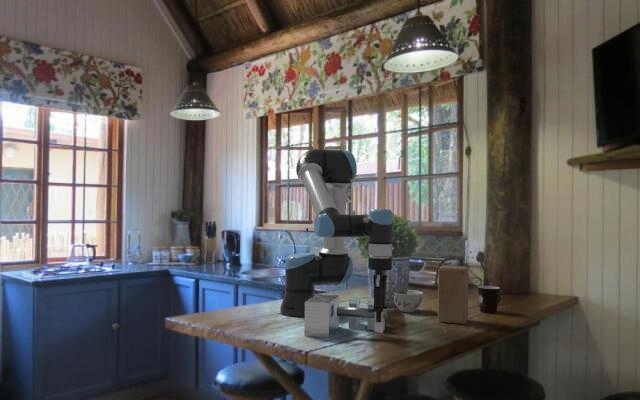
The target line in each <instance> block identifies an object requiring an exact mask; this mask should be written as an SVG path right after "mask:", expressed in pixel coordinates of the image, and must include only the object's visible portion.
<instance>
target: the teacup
mask: <svg viewBox="0 0 640 400" xmlns="http://www.w3.org/2000/svg"><path fill="white" fill-rule="evenodd" d="M407 290H408V291H407V295H405V294H398V293H394V294H395V296H394V300H393V302H394V301H395V302H394V304H395V306H396V307H397V309H399V311H400V312H404V313H414V312H415V311H416V310H417V309H418V308H419V307H420V306H421V303H422V301H423V298H424V292H423V291H420V290H416V289H415V290H414V289H407Z"/></svg>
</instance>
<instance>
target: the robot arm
mask: <svg viewBox="0 0 640 400" xmlns="http://www.w3.org/2000/svg"><path fill="white" fill-rule="evenodd" d="M295 171H296V176H297V178H298V180H299V182H300V183H301V184H303V186H304V188H305V192H306V193H307V195H308V198H309V201H310V203H311V206H312V208H313V210H314V213H315V215H316V216H315V217H314V221H313V228H314V229H313V230H314V233H315V234H316V235H315V236H317V237H320V238H321V237H322V239H323V241H322V247H321V248H320V249H319V251H318V255H316V254H315V253H314V252H300V253H292V254H290V255H288V256H287V257H286V259H285V266H284V271H285V272H284V274H285V275H284V281H285V282H284V286H285V287H284V295H283V298H282V301H281V305H280V308H279V310H280V311H279V312H280V314H281V315H283V316H288V317H305V301H307V300H309V299H310V298H312V297H313V296H315V295H316V294H315V289H316V286H338V285H339V286H340V285H346V284H347V283H348V282H349V281H350V279H351V277H352V275H353V270H354V263H353V258H352V257H351V255H349V251H348V250H347V249H346V248H345V241H346V240H345V238H368V246H367V247H368V252H367V255H368V257H369V258H368V260H367V261H368V264H367V265H368V269H369V270H371V271H375V273H374V274H373V277H372V280H373V281H372V283H373V298H374V309H372V311H374V312H375V317H374V330H373V331H374V333H381V334H383V333H384V331H385V321H386V319H383V309H387V310H388V307H387V306H386V289H387V280H388V276H387V274H386V272H385V271H391V270H392V269H393V259H392V258H391V257H393V251H394V250H395V248H394V246H393V225H394V220H393V211H392V209H387V208H386V209H383V208H382V209H379V208H378V209H377V208H376V209H375V208H374V209H373V208H372V209H370V210H369V212H368V214H347V192H348V191H347V189H348V188H349V186H350V185H351V181H352V180H355V179H356V177H357V171H358V166H357V160H356V158H355V156H354V154H353V153H352V152H351V151H349V150H344V149H325V148H312V149H309V150H307V151H305V152H304V153H303V154H302V155H301V156H300V157H299V159H298V160H297V163H296V167H295Z"/></svg>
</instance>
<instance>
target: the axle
mask: <svg viewBox="0 0 640 400" xmlns="http://www.w3.org/2000/svg"><path fill="white" fill-rule="evenodd" d="M337 316H339V317H348V318H349V317H360V318H363V319H368V318H374V317H375V312H374V311H372V309H370V308H368V307H367V308H366V307H359V308H354V307H349V306H339V307H337ZM383 319H385V320H387V319H388V308H387V309H383Z"/></svg>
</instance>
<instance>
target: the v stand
mask: <svg viewBox="0 0 640 400" xmlns="http://www.w3.org/2000/svg"><path fill="white" fill-rule="evenodd" d="M360 304H361V297H360V296H352V299H349V301H348V307H354V308H360ZM367 308H370V309H374V297H370V300H368V301H367ZM360 324H361V317H348V329H350V330H351V329H353V330H356V329H357V328H358V326H359V325H360ZM366 328H367V330H368V331H370V330H371V331H374V318H367V327H366Z"/></svg>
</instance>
